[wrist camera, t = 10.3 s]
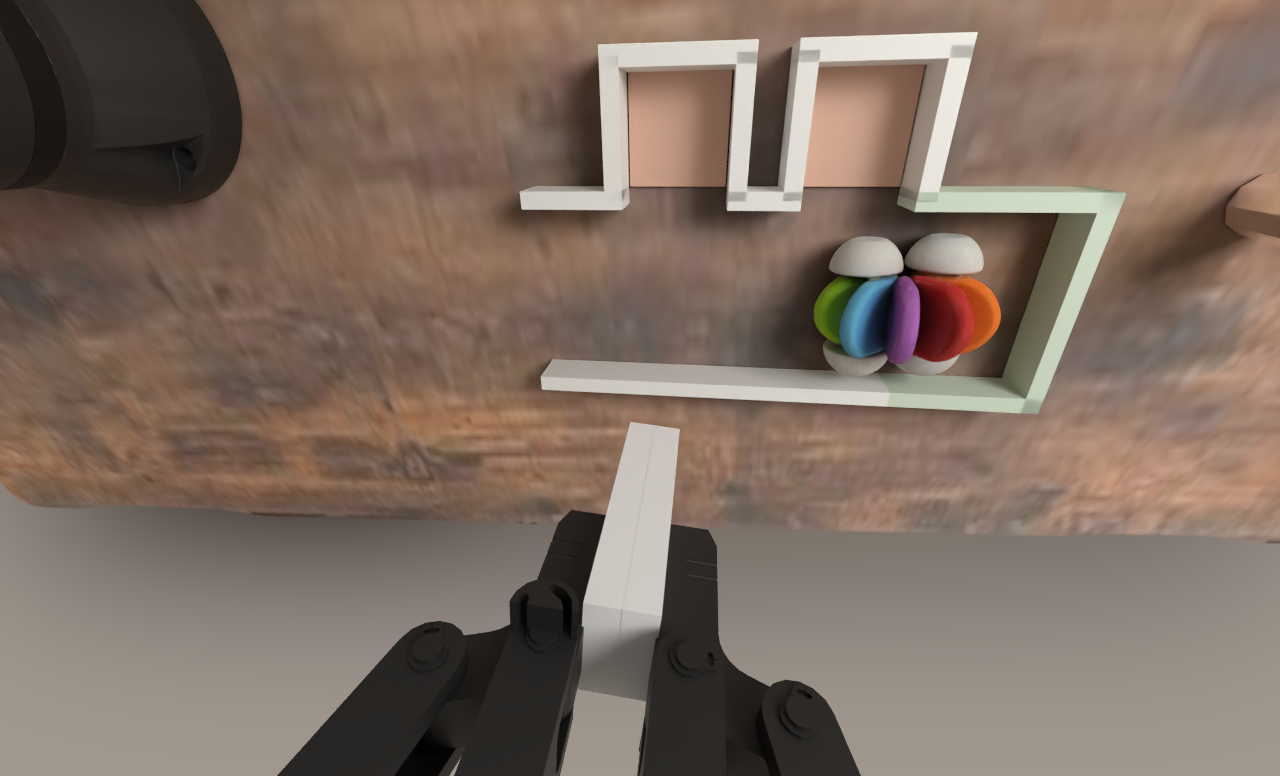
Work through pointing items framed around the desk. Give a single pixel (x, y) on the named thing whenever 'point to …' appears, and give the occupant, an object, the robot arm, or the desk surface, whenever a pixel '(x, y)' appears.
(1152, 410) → the desk surface
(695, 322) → the desk surface
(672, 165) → the box
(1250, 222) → the milkshake
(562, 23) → the desk surface
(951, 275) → the rainbow petal toy
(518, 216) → the desk surface
